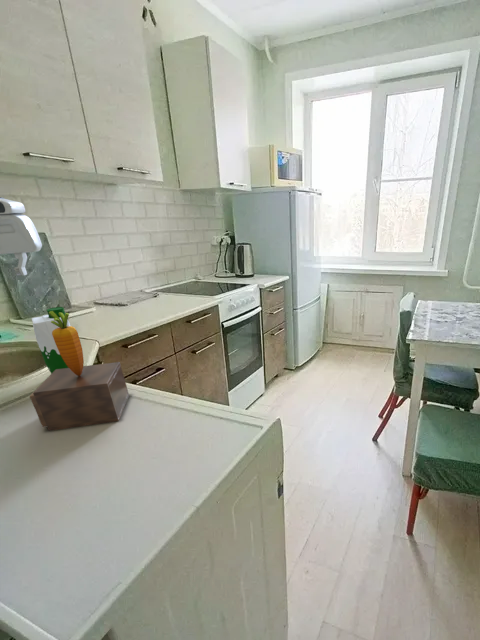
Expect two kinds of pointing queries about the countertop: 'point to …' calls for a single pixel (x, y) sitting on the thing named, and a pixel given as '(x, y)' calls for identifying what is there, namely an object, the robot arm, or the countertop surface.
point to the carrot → (68, 343)
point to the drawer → (38, 410)
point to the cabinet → (82, 396)
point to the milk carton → (49, 339)
